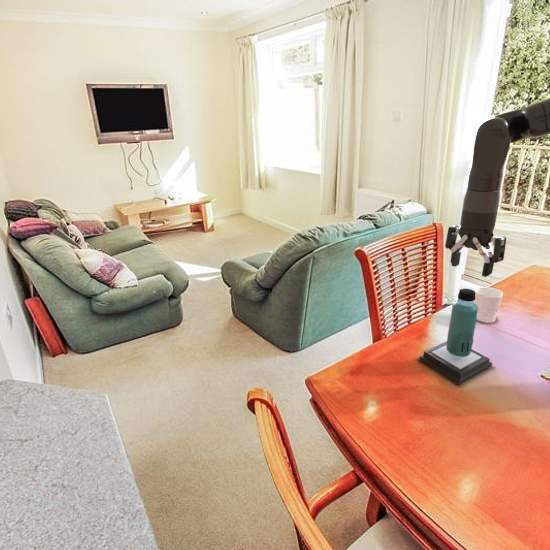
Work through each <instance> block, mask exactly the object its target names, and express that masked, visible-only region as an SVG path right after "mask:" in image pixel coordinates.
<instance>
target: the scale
mask: <svg viewBox="0 0 550 550" xmlns="http://www.w3.org/2000/svg"><path fill="white" fill-rule="evenodd" d="M445 345H447V340H446V341H444V342H441V343H438V344H437V345H436V346H435V345H434V346H433V347H431V348H429V349H427V350H426V349H425V350H424V351H423V354H422V355H420V356H419V359H418V361H420V362H421V363H423V364H424V365H426V366H427V367H429V368H431V369H432V370H434V371H436V372H437V373H439V374H440V375H442V376H443V377H445V378H447V379H448V380H450V381H451V382H453V383H454V384H456V385H458V386H460V385H461V384H463V383H465V382H467V381H469V380H472V379H473V378H474V377H476V376H479V375H480V374H482V373H484V372H485V371H488V370H489V369H491V368H492V367H493V362H491V361H490V360H491V359H490V358H489V357H487V356H486V355H483V354H481V352H480V353H479V352H478V351H476V350H474V349H473V348H471V352H473V353H475V354H477V355H478V356H480V357H482V358H481V359H480V360H478V361H476V362H475V363H473V364H471V365H469V366H467V367H465V368H463V369H461V370H459V369H457V368H456V367H454V366H452V365H451V364H449V363H447V362H446V361H444V360H442V359H441V358H439V357H437V356H435V355H434V354H432V353H431V352H432V351H434V350H437V349H439V348H441V347H443V346H445Z"/></svg>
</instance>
